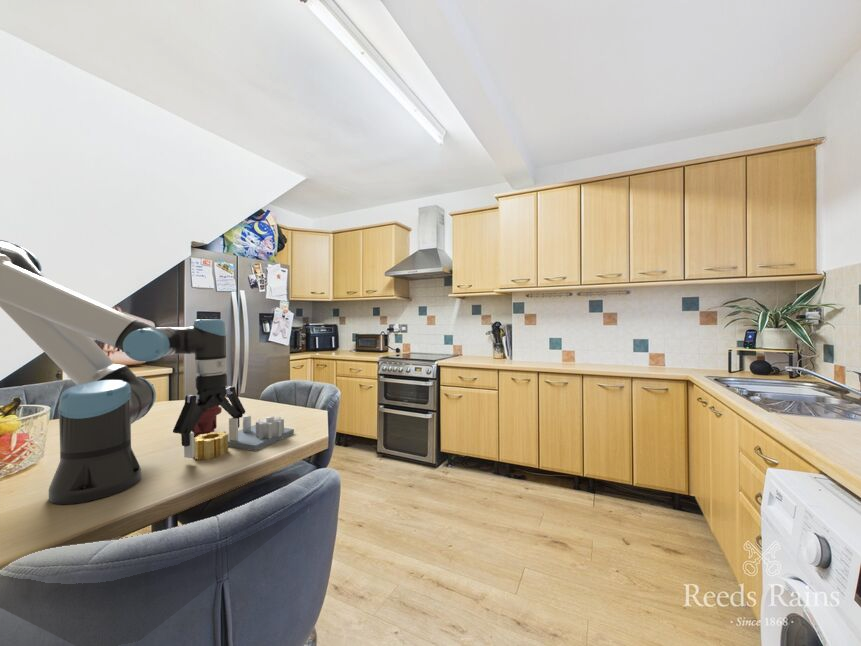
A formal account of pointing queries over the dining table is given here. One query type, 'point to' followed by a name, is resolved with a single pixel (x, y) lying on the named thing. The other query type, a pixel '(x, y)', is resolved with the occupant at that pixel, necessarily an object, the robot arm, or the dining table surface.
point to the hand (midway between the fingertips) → (213, 448)
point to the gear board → (260, 433)
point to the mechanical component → (207, 421)
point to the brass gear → (210, 445)
